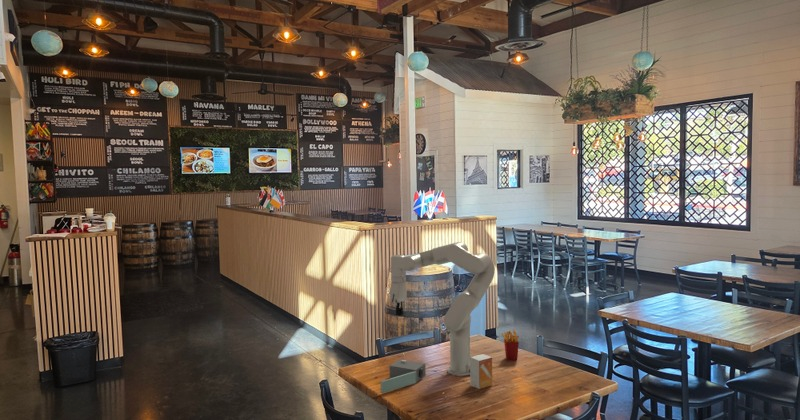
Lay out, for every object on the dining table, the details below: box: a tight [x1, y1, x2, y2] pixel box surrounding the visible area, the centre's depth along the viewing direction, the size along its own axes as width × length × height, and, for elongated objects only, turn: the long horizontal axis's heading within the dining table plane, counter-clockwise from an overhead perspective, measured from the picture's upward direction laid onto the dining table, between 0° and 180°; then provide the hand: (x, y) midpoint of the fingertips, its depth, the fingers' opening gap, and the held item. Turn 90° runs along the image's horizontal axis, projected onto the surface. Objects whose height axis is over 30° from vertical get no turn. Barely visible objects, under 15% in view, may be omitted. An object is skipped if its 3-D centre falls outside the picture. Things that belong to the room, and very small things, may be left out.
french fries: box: [501, 329, 520, 362], centre depth 271 cm, size 9×8×15 cm
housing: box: [389, 358, 427, 384], centre depth 248 cm, size 15×10×7 cm, turn 61°
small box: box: [469, 353, 493, 390], centre depth 236 cm, size 8×6×13 cm
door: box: [380, 371, 417, 394], centre depth 235 cm, size 20×1×5 cm, turn 127°
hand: (399, 314), depth 266 cm, fingers closed
